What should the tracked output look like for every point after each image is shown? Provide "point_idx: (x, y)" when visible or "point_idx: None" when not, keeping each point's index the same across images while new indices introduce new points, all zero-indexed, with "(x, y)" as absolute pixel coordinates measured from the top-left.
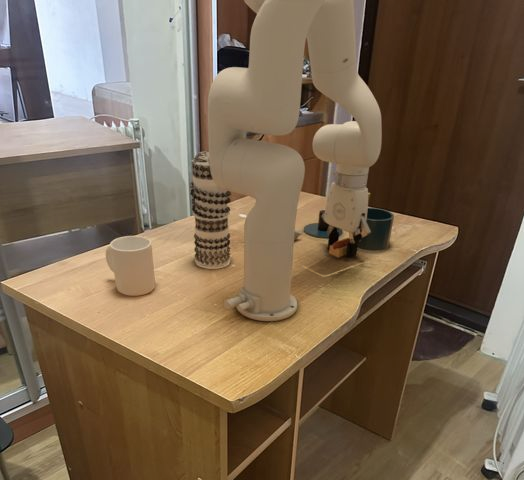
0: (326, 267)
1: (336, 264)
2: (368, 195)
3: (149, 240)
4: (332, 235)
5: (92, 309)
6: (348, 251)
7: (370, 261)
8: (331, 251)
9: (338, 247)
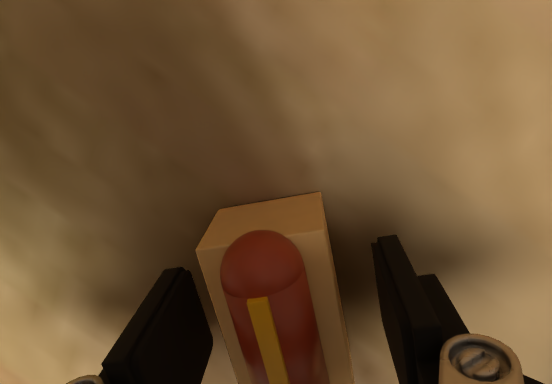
0: (105, 21)
1: (138, 141)
2: None
3: None
4: (402, 347)
5: None
6: (144, 300)
7: None
8: (294, 211)
9: (220, 264)
